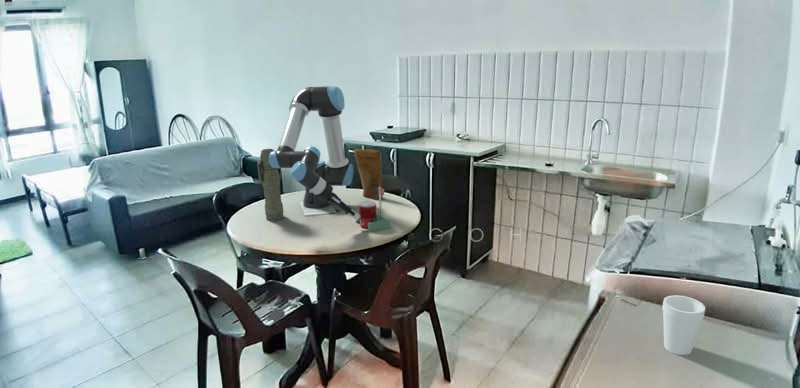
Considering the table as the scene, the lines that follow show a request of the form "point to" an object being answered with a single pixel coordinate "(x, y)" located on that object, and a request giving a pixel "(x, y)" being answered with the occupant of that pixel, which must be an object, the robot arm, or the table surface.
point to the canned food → (367, 213)
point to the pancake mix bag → (369, 171)
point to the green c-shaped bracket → (378, 218)
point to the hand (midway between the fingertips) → (358, 217)
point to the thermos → (270, 186)
